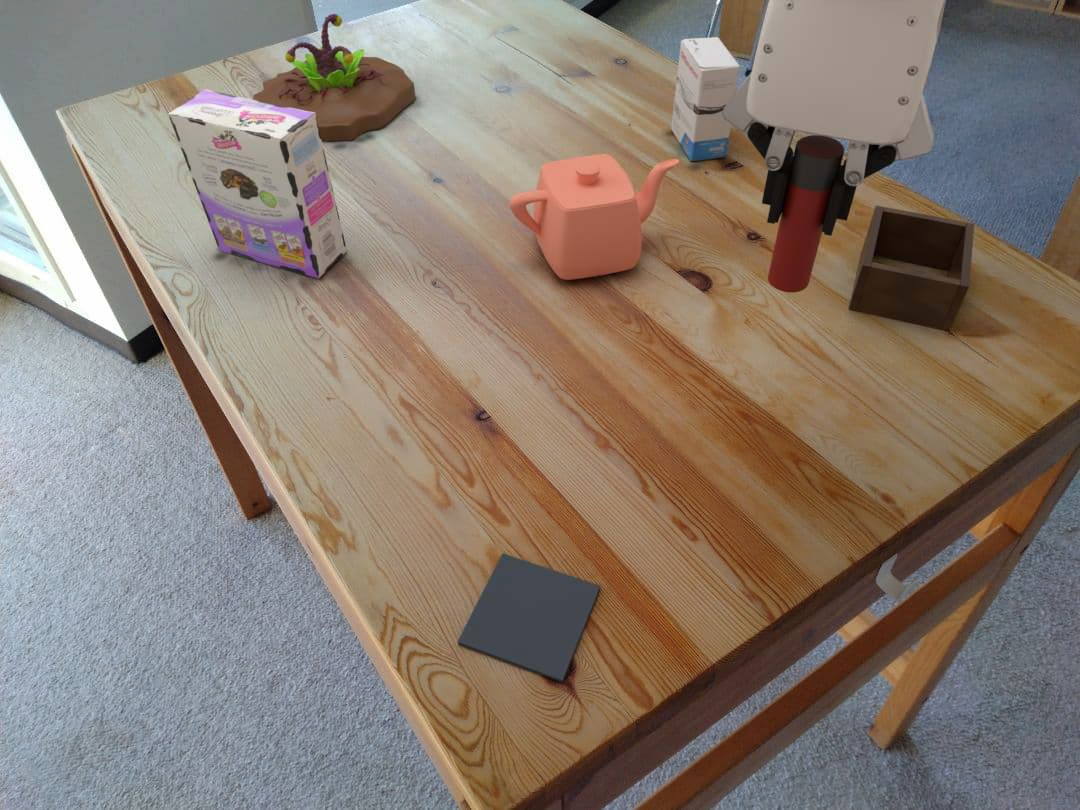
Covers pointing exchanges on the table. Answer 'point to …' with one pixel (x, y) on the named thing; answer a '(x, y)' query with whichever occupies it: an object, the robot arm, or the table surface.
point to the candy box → (262, 180)
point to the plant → (340, 88)
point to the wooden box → (908, 289)
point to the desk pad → (530, 617)
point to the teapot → (589, 214)
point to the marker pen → (804, 211)
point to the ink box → (703, 97)
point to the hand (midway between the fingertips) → (803, 216)
